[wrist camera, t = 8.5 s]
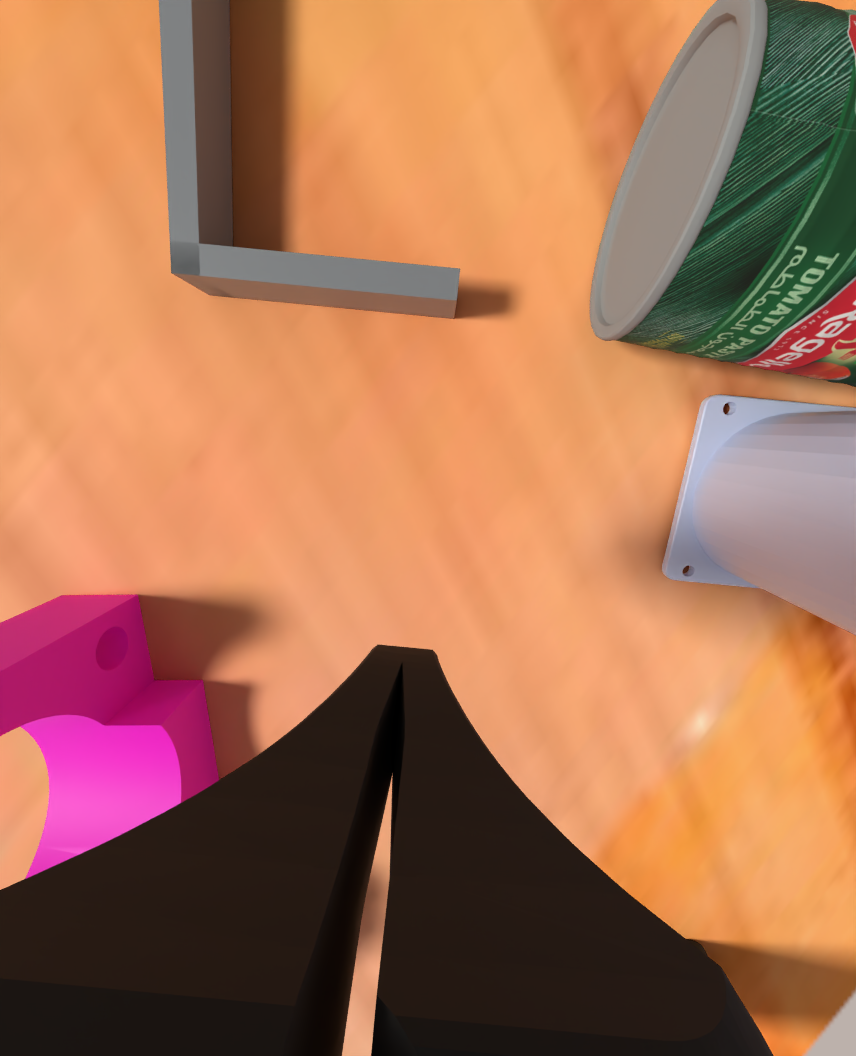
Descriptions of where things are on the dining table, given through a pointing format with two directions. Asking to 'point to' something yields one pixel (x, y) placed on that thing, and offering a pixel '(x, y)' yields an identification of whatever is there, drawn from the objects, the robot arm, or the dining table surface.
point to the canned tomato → (743, 198)
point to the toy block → (100, 720)
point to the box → (206, 193)
